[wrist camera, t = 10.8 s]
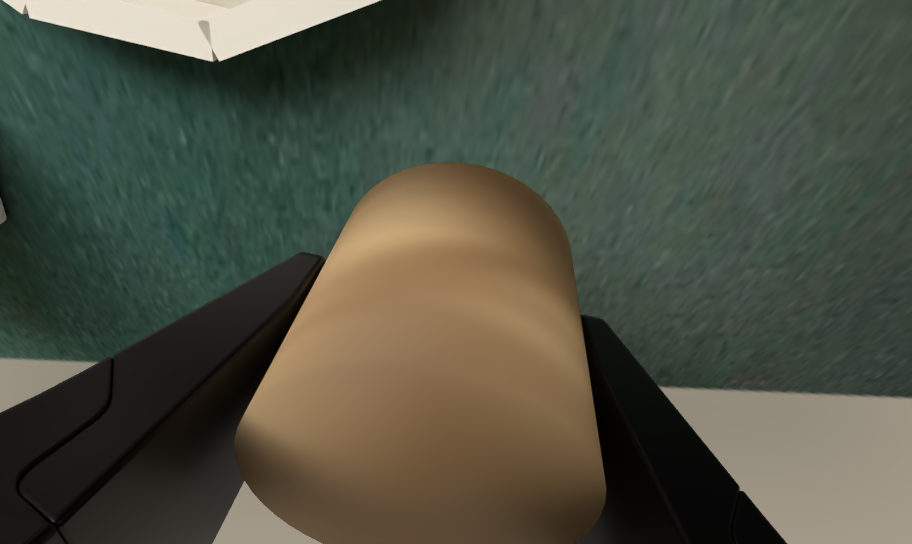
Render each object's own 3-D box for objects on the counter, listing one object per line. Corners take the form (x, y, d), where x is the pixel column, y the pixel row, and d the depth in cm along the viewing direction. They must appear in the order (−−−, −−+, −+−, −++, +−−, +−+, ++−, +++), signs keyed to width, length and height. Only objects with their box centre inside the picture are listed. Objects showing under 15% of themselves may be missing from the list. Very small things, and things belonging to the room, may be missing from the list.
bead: (608, 195, 8) (677, 419, 5) (532, 367, 11) (539, 594, 7) (350, 135, 8) (217, 321, 5) (337, 325, 11) (246, 536, 7)
